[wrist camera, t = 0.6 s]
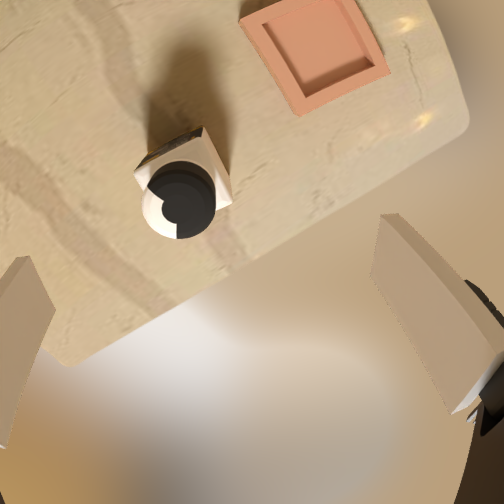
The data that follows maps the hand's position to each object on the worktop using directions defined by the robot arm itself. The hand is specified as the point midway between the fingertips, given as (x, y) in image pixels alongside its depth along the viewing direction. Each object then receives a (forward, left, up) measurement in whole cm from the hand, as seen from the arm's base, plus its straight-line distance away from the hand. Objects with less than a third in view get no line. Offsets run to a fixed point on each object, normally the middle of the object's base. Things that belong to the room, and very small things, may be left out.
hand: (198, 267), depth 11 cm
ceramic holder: (-3, +15, -25) cm, 30 cm away
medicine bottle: (+2, -4, -26) cm, 26 cm away
